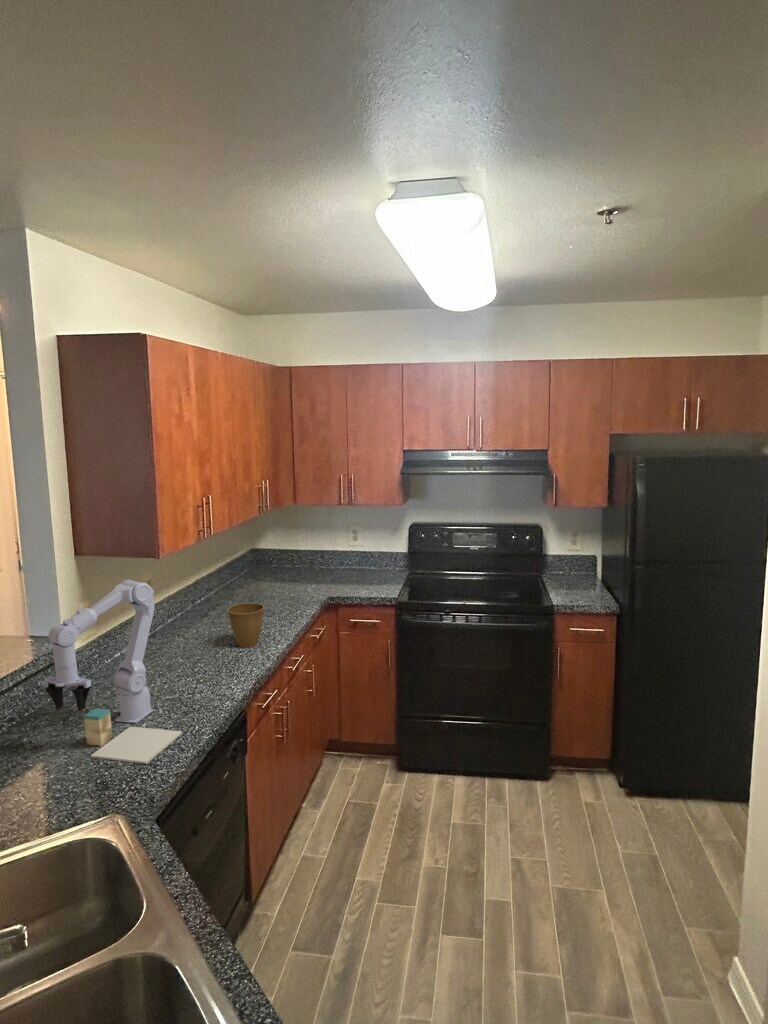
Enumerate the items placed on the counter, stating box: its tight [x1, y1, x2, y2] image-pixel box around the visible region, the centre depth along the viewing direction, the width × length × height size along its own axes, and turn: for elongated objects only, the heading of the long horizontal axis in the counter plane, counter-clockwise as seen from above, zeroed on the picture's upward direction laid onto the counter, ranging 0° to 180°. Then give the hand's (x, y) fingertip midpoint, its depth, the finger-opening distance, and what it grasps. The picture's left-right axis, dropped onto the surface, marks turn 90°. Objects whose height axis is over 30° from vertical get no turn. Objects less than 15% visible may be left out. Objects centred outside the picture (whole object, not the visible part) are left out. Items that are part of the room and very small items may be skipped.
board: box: [90, 726, 183, 765], centre depth 192 cm, size 18×18×1 cm
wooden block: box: [83, 708, 114, 747], centre depth 195 cm, size 5×5×9 cm
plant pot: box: [227, 602, 265, 648], centre depth 275 cm, size 15×15×16 cm
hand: (70, 708), depth 195 cm, fingers open, 7 cm apart
